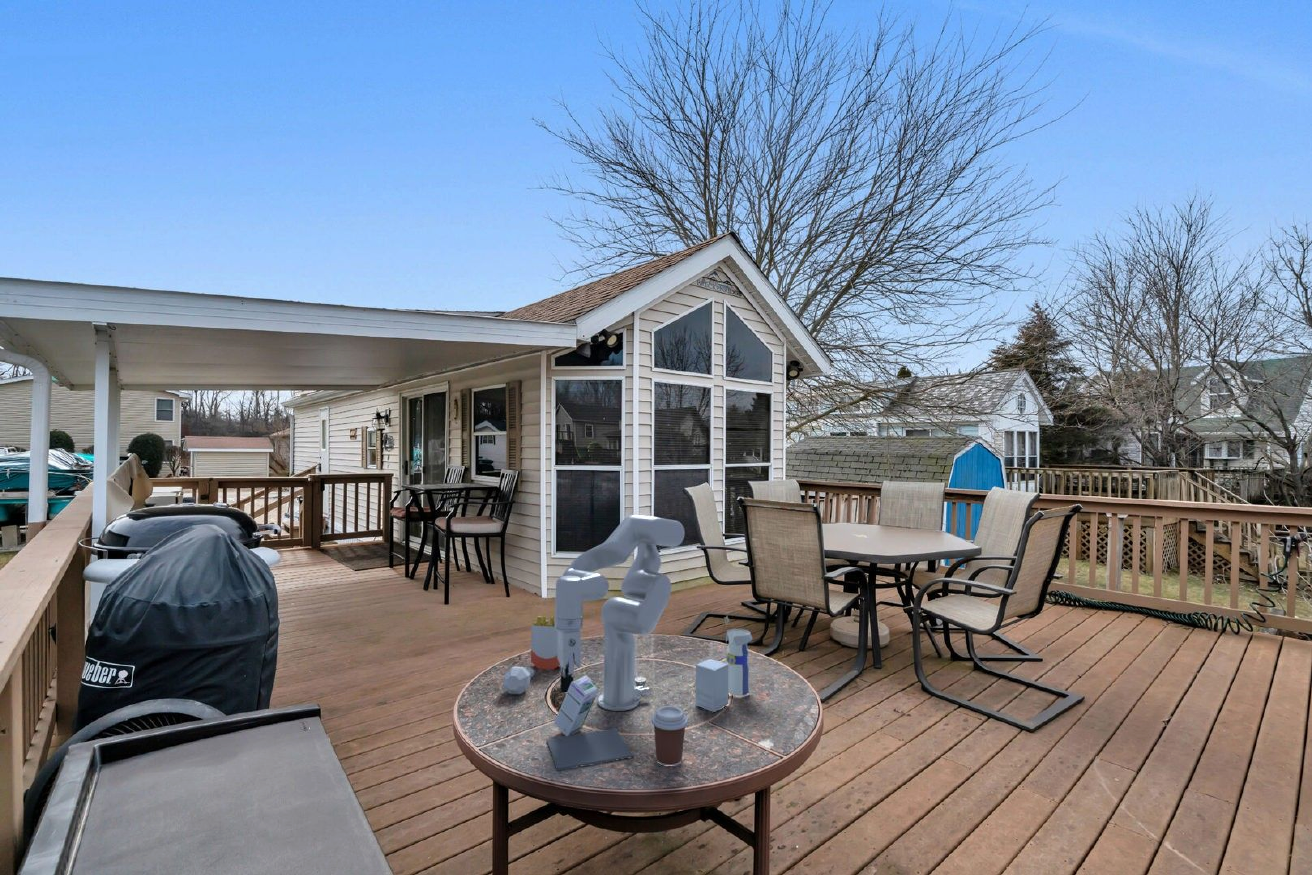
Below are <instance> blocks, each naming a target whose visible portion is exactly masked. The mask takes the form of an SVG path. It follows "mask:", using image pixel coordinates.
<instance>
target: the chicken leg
mask: <svg viewBox="0 0 1312 875" xmlns="http://www.w3.org/2000/svg"><path fill="white" fill-rule="evenodd" d="M534 675H535V670H534V669H533V668H529V667H527V668H526V667H524V666H512V667H511V668H510V669H509V670H508V671H507V672H506V673H505V674H504V675H503V680H502V681H503V684H502V686H503V688H504V689H505V690H506V691H507V693H509V695H522V694H523V693H524V692H525V691H526V690H527V688H529V687H530V685H531V679H532V678H533V676H534Z"/></svg>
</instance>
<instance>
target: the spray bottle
mask: <svg viewBox="0 0 1312 875" xmlns="http://www.w3.org/2000/svg"><path fill="white" fill-rule="evenodd" d="M725 616H726V617H723V618H724V621H725V622H724V625H727V627H728V626H729V622H730V619H729V617H728V615H725ZM725 641H726V642H725V643H727V641H728V646H727V649H726V652H727V655H726V664H728V693H730V694H732V695H745V694H747V693H749V694H750V668H749V667H750V665H749V663H748V660H749V659H748V657H749V656H748V655H749V653H750V651H749V648H748V643H749V642H752V641H753V636H752V634H751V632H750V631H749V630H746V629H744V628H743V629H742V628H733V629H732V628H731V629H728V630H727V631H726V638H725Z"/></svg>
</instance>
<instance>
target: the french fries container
mask: <svg viewBox="0 0 1312 875" xmlns="http://www.w3.org/2000/svg"><path fill="white" fill-rule="evenodd" d="M530 636H531V637H530V638H531V641H530V642H531V644H530V662H531V663H532V664H533V665H534V666H535V667H536V668H537V669H539V670H555V669H556V668H557V667H558V666H561V664H560V663H559V661H558V658H557V640H558V631H557V630H555V616H551V617H550V622H549V620H548V619H547V616H542V615H538V616H536V620H535V621H534V622H533V623H532V624H531V634H530Z"/></svg>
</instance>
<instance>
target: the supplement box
mask: <svg viewBox="0 0 1312 875" xmlns="http://www.w3.org/2000/svg"><path fill="white" fill-rule="evenodd" d="M727 704H728V705H729V696H728V664H727V663H724V662H721V661H718V660H716V659H715V660H714V659H712V658H709V659H706V660H704V661H702V662H699V663H697V664H695V707H697V706H700V707H702V708H705V709H707V710H712V711H716V710H719V709H720V708H722V707H723V706H726V705H727ZM702 708H701V709H702ZM705 709H704V710H705ZM707 710H706V711H707Z"/></svg>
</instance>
